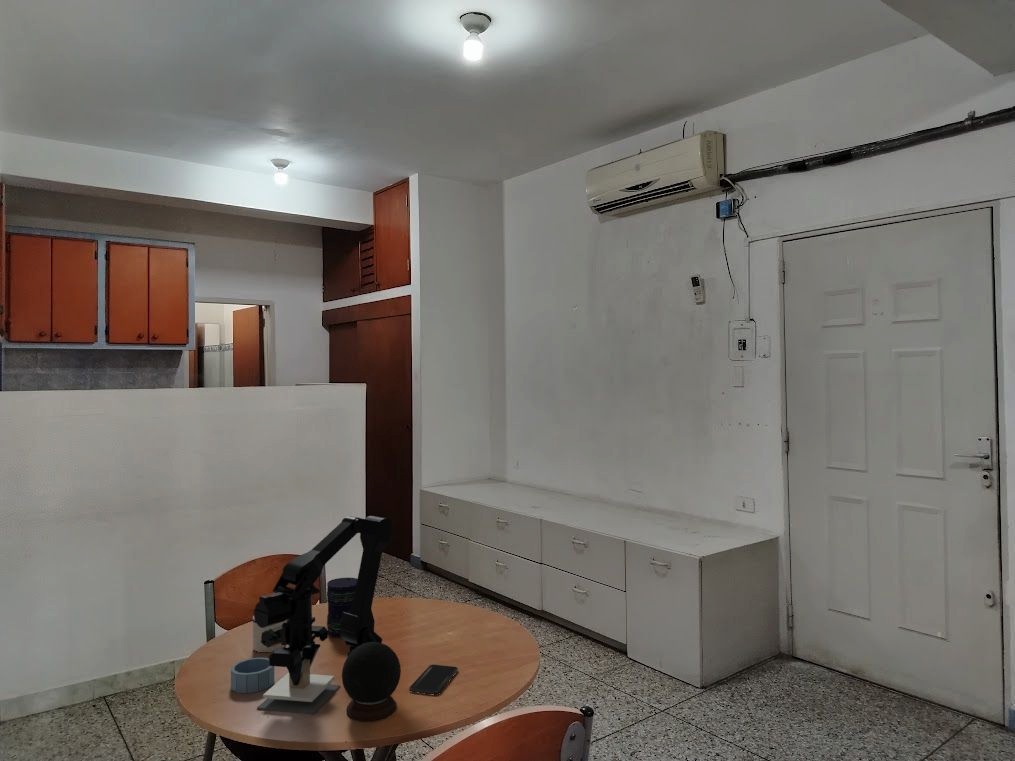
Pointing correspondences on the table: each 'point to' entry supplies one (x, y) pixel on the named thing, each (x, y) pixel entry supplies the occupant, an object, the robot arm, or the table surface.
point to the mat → (299, 703)
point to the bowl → (251, 675)
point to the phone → (433, 679)
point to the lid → (299, 686)
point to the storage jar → (339, 602)
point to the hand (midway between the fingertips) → (299, 681)
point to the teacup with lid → (257, 638)
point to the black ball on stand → (371, 681)
